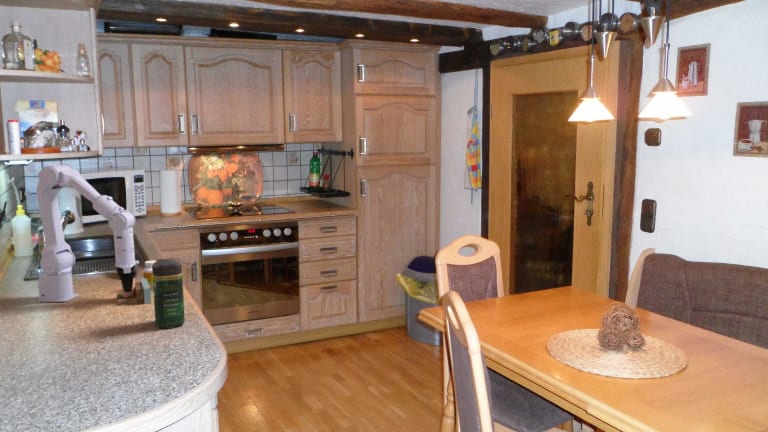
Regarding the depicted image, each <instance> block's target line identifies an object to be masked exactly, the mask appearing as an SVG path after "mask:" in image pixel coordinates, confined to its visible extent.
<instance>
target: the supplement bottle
mask: <svg viewBox="0 0 768 432" xmlns="http://www.w3.org/2000/svg"><path fill="white" fill-rule="evenodd" d="M156 261H157V260H147V261H145V262H144V266H145V267H144V268H143V270H142V271H143V272H142V273H143V279H145V278H147V281H148V283H149V286H150V288H151V292H152V291H153V292H154V290H153V275H152V265H153V263H155V262H156Z"/></svg>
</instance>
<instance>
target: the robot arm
mask: <svg viewBox="0 0 768 432" xmlns="http://www.w3.org/2000/svg"><path fill="white" fill-rule="evenodd" d="M37 176H38V183H37V187H36V196H37V202H38V208H39V213H40V218H41V224H42V230H43V235H44V241H45V245H44V247H43V248H42V249H41V253H40V256H41V259H40V262H39V263H40V266H39V267H40V268H41V271H43V272H42V273H41V274H39V277H38V281H37V284H38V285H37V286H38V295H39V299H38V303H39V302H46V303H51V302H54V303H55V302H56V303H57V302H58V303H60V302H62V303H63V302H64V303H65V302H66V303H67V302H68V301H70V300H71V301H72V299H74V298H76V297H79V296H80V294H79V293H74V284H73V273H72V270H73V267H74V265H75V263H76V256H75V254H74V253H73V251H72V249H71V245H70V244H69V243H67V242H66V240H65V235H64V229H63V228H64V227H63V224H62V218H61V212H60V207H59V206H60V205H59V201H58V194H59V193H60V192H61V190H62V189H63V188H72V189H73V190H74V191H77V192H78V193H79V194H80V195H81V196H83V197H84V198H86V199H87V200H88V201H90V202H91V203H92V209H93V210H94V211H95V212H97V213H98V214H99V215H101V217H103V218H104V219H105V220H106V221H107V222H108V225H109V228H110V229H111V230H112V234H113V241H114V243H113V244H114V257H115V263H114V264H115V265H114V266H115V267H116V268H115V269H116V274H117V276H118V277H119V279H120V281H121V282H122V285H123V289H124V292H132V287H133V279H134V276H135V274H136V270H134V269H135V266H134V265H135V264H137V265H138V264H140V261H139V260H136V257H135V241H134V226H135V224H136V217H135V214H133V212H132V211H131V210H128V209H127V210H126V209H125V208H124V207H123V206H121V205H119V204H118V203H116V202H115V201H114V200H113V199H114V198H113V197H112V196H111V195H110V196H108V195H106V194H103V195H101V194H100V193H99V192H98V191H97V190H96V189H95V188H94V187H93V186H92V185H91V184H90V183H89V182H88V181H87V180H86V179H85V178H84V177H82V175H81V173H80V171H79V170H77V169H76V168H74V166H73V165H71V164H69V163H64V164H58V165H57V164H56V165H45V166H44V167H42V169H41V170H40V171H39V172H38V173H37ZM121 282H120V283H121ZM122 285H121V286H122Z"/></svg>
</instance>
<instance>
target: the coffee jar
mask: <svg viewBox="0 0 768 432" xmlns="http://www.w3.org/2000/svg"><path fill="white" fill-rule="evenodd" d="M155 261H156V262H155V263H153V265H152V275H153V290H154V291H153V303H154V321H155V322H154V323H155V325H156V326H157V327H158V328H168V329H172V328H176V327H178V326H182V325H184V324H185V321H186V320H185V319H186V318H185V302H184V296H185V295H184V283H183V282H184V281H183V268H182V267H183V266H182V263H180V262H179V261H177V260H175V259H173V258H161V259H157V260H155Z"/></svg>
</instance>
